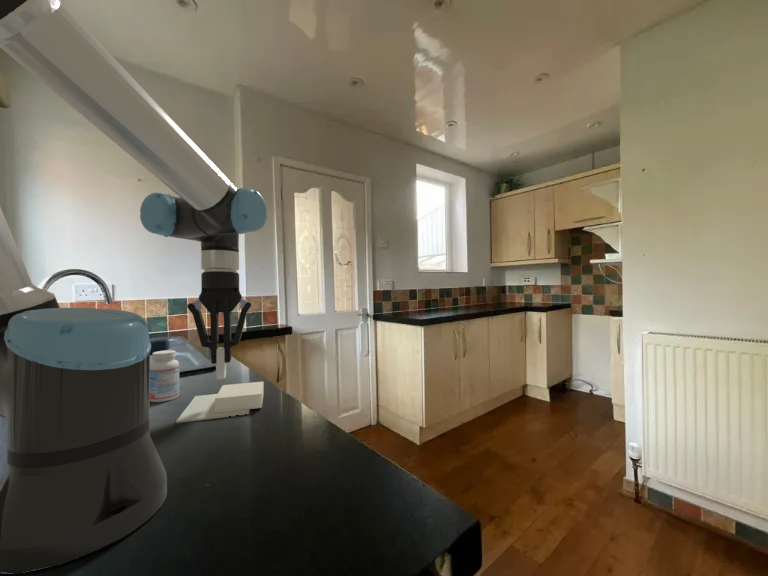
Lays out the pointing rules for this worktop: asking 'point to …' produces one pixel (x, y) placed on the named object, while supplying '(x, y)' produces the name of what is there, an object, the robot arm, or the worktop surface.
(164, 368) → the pill bottle
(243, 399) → the cream rectangular block
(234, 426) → the worktop surface
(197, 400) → the mat
